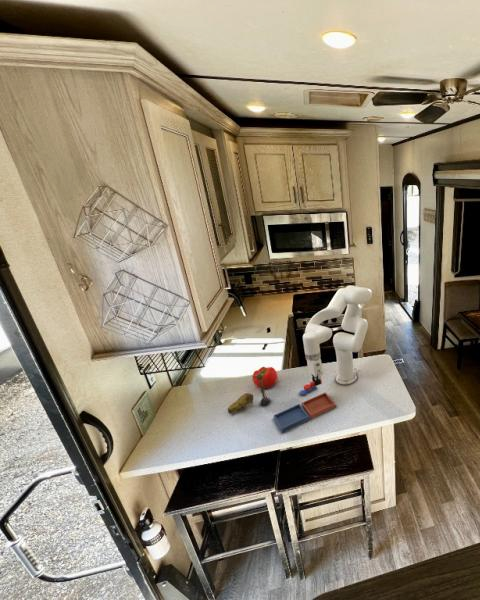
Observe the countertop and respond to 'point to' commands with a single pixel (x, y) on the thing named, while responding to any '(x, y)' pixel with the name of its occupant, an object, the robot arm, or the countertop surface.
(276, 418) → the blue tray
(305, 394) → the blue spoon
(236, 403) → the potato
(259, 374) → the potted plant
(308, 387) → the red spoon
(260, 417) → the countertop surface
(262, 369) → the tomato
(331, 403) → the red tray
